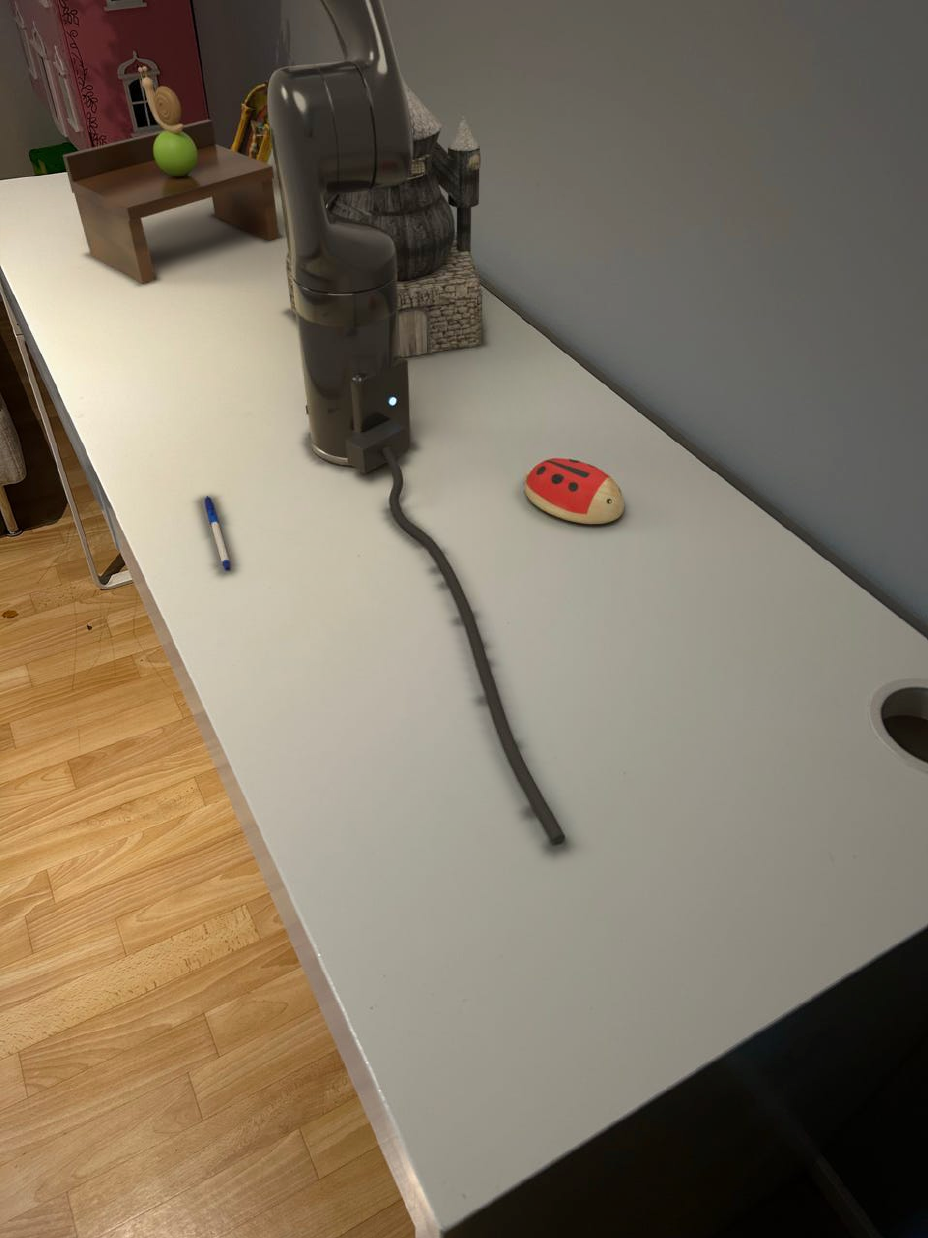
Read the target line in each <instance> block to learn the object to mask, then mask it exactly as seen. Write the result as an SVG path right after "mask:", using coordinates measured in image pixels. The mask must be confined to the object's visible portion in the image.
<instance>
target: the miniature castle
mask: <svg viewBox="0 0 928 1238" xmlns="http://www.w3.org/2000/svg"><path fill="white" fill-rule="evenodd" d="M401 76H402V80H403V84H404V89H405V93H406V97H407V101H408V106H409V111H410V118H411V125H412V132H413V161H412V167H411V171H410V173H409V176H408V177H407V179H406V180H405V181H404V182H403V183H401V184H399V185H396V186H393V187H388V188H382V189H375V190H366V191H360V192H353V193H345V194H338V195H330V196H326V200H325V201H326V208H327V209H328V210H329V211H331V212H333V213H335V214H338V215H340V216H343V217H346V218H350V219H354V220H359V221H363V222H366V223H370V224H372V225H375V226H377V227H379V228H381V229H383V230H384V231H386V232H387V233H388V234H389V235H390V236H391V237H392V239H393V241H394V243H395V247H396V254H397V287H398V314H399V336H400V356H402V357H404V358H406V357H411V356H412V357H413V356H420V355H426V354H428V355H429V354H432V353H439V352H445V351H453V350H457V349H458V350H459V349H465V348H471V347H477V346H480V345H481V344H482V328H483V327H482V325H483V324H482V322H483V321H482V320H483V291H482V285H481V282H480V279H479V278H480V277H479V275H478V272H477V269H476V266H475V262H474V258H473V255H472V250H471V249H472V208H474V207H477V206H478V205H479V204H480V168H481V165H482V164H481V162H482V156H481V152H480V151H481V145H480V143H478V141H477V140H476V138H475V137H474V135H473V133H472V131H471V129H470V126H469V123H468V121H467V118H466V115H463V116H462V118H461V121H460V123H459V126H458V128H457V131H456V133H455V135H454V137H453V138H452V139H451V141H450V142H449V143H448V144H447V151H446V149H444V147H443V146H441V144H440V143H439V142H438V140H439V137H440V134H441V131H442V123H441V121H440V120H439V119H438V118H437V117H436V116H435V115H434V114H433V113H432V112H431V111H430V110H429V109H428V108H427V107H426V105H424V103H423V102H422V101H421V100H420V99H419V98H418V96H416V94H415V93H414V92H413V91H412V89H410V87H409V86H408V85H407V83H406V81H405V79H404V77H403V75H402V74H401ZM441 188H442V190H444V191H445V193H447V199H446V197H445V196H444V194H443V193H442V190H441ZM451 207H453V208H456V227H455V218H454V213H453V210H452V208H451ZM455 229H456V230H455ZM285 259H286V260H285V269H286V271H285V272H286V278H287V287H288V293H289V295H288V296H289V303H290V309H291V310H290V311H291V314H292V315H293V316H294V317H295V318H296V310H295V300H294V292H293V283H292V274H291V266H290V257H289V251H288V252H287V254H286V258H285Z"/></svg>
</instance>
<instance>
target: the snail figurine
mask: <svg viewBox="0 0 928 1238" xmlns="http://www.w3.org/2000/svg"><path fill="white" fill-rule="evenodd" d="M137 70H138V72H139V73H140V76H141V86H142V87H143V89H144V92H145V97H146V101H147V103H148V106H149V109H150V112H151V113H152V117H153V118H154V121H155V122H156V123H157V124H158V125H159V126H160V127H161V128H162V129H163V130H166V131H164V132H162V133H161V134H159V135H158V137H157V138H156V140H155V142H154V147H153V153H154V158H155V160H156V162H157V164H158V166H159V167H160V168H161V169H162V170H163V171H164V172H166V173H167V174H169V175H172V176H177V177H180V176H185V175H187V174H189V173H190V172H191V171H192V170H193V169H194V167H195V166H196V163H197V149H196V146H195V144H194V142H193V141H192V139H191V138H190V137H189V136H188V135H187V134H185V133H184V132H182V129H183V125H184V124H183V123H180V120H181V118H182V117H181V116H182V108H181V105H180V101H179V99H178V97H177V95H176V93H175V92H174V91H173V90H172V89H171V88H170V87H168V86H165V85H162V86H158V88H156V90H154V82H153V80H152V79H151V78H150V77H148V76H147V71H148V67H147V66H145V65H144V66H142V67H141V66H140V67H138V68H137ZM143 72H144V75H145V77H143V74H142V73H143Z"/></svg>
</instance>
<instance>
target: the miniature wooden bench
mask: <svg viewBox="0 0 928 1238" xmlns="http://www.w3.org/2000/svg"><path fill="white" fill-rule="evenodd" d="M164 131H166V130H165V129H163V130H159V131H155V132H154V131H153V132H151V133H147V134H143V135H139V136H135V137H131V138H130V137H129V138H127V139H122V140H118V141H114V142H110V143H106V144H102V145H98V146H94V147H90V148H85V149H81V150H77V151H74V152H70V153H65V154H62V159H63V162H64V166H65V170H66V174H67V178H68V182H69V186H70V189H71V193H72V194H74V198H75V201H76V205H77V209H78V213H79V216H80V220H81V224H82V228H83V232H84V235H85V239H86V243H87V245H88V250H89V254H90V256H92V257H93V258H96V259H97V260H99V261H100V262H102V263H104V264H106V265H108V266H110V267H112V268H113V269H115V270H117V271H119V272H121V273H122V274H124V275H126V276H128V277H130V278H132V279H134V280H135V281H137V282H139V283H141V284H142V285H143V284H146V283H150V282H152V281H155V279H156V278H155V274H154V269H153V265H152V261H151V257H150V251H149V246H148V243H147V238H146V233H145V229H144V223H143V221H142V219H144V218H146V217H149V216H153V215H156V214H159V213H163V212H166V211H170V210H173V209H176V208H180V207H183V206H186V205H190V204H193V203H196V202H200V201H203V200H206V199H210V198H211V200H212V205H213V211H214V216H215V217H216V218H219V219H221V220H223V221H225V222H226V223H227V222H228V223H229V224H232V225H234V226H236V227H238V228H241V229H243V230H245V231H247V232H249V233H252V234H254V235H255V236H259V237H261V238H263V239H265V240H267V241H272V240H275V239H278V238H280V232H279V224H278V214H277V207H276V201H275V200H276V199H275V192H274V183H273V180H274V179H275V175H274V167H273V165H272V164H268V163H267V164H266V163H263V162H261V161H258V160H256V159H253V158H250V157H248V156H245V155H243V154H240V153H237V152H235V151H232V150H231V148H230V149H229V148H227V147H224V146H222V145H219V144H216V138H215V133H214V125H213V120H211V119H205V120H204V119H203V120H200V121H199V120H198V121H196V122H193V123H192V122H191V123H188V124H183V129H182V132H184V133H185V134H187V135H188V136H189V137H190V138H191V139H192V141H193V142H194V144H195V146H196V149H197V163H196V166H195V167H194V169H193V170H192V171H191V172H190V173H189V174H187V175H185V176H180V177H177V176H172V175H169V174H167V173H166V172H164V171H163V170H162V169H161V168H160V167H159V166H158V164H157V162H156V160H155V158H154V153H153V147H154V142H155V140H156V138H157V137H158V135H159V134H161V133H162V132H164Z"/></svg>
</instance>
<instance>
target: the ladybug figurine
mask: <svg viewBox="0 0 928 1238" xmlns="http://www.w3.org/2000/svg"><path fill="white" fill-rule="evenodd" d="M525 479H526V480H525V482H524V493H525V495H526V496H527V498H528V500H529V501H530V502H531V503H532V504H534V505H535V506H536V507H538V508H539V509H540V510H541V511H544V512H546V513H547V514H550V515H552V516H554V517H556V518H559V519H561V520H565V521H567V522H572V523H577V524H584V525H602V524H608V523H610V522H613V521H616V520H617V519H619V518H620V517H621V516H622V515H623V513H624V510H625V499H624V496H623V493H622V490H621V488H620V486H619V485H618V483H617V482H616V481H615V480H614V479H613V478H612V477H611V476H610V475H609V474H608V473H606V472H605V471H603V470H601V469H600V468H598V467H596V466H594V465H591V464H589V463H586V462H582V461H580V460H577V459H571V458H558V457H557V458H554V457H553V458H552V457H551V458H548V459H545V460H543V461H541V462H539V463H538V464H536V465H535V466H534V467H533V468H532V469H531V470H526V473H525Z"/></svg>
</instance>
